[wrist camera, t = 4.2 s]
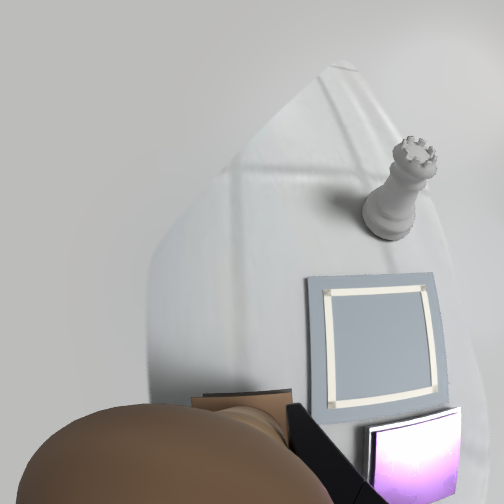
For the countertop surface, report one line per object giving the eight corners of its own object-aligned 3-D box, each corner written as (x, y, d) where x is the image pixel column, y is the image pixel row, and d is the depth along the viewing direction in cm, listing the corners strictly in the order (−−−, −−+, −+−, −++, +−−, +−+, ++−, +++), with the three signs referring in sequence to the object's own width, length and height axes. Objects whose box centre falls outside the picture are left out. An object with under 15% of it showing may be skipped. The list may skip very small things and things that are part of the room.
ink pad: (445, 490, 11) (457, 495, 10) (358, 515, 12) (365, 524, 10) (451, 407, 15) (464, 407, 13) (363, 426, 15) (372, 428, 14)
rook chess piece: (350, 219, 22) (375, 145, 15) (377, 189, 24) (403, 118, 17) (394, 254, 21) (438, 188, 14) (417, 219, 22) (457, 154, 15)
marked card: (445, 402, 15) (449, 402, 15) (310, 424, 16) (311, 425, 15) (430, 274, 20) (433, 271, 19) (307, 278, 20) (307, 275, 20)
